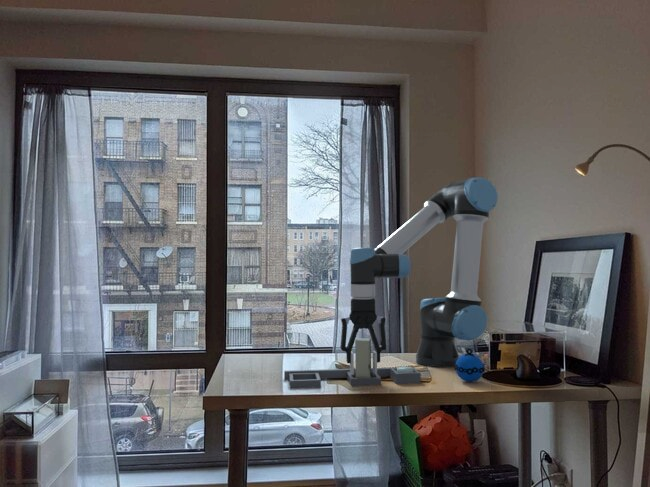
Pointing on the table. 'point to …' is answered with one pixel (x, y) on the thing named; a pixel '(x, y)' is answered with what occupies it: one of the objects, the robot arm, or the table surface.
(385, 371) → the panel
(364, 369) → the box
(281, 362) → the table surface
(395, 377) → the button collar
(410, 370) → the release button
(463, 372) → the ornament
